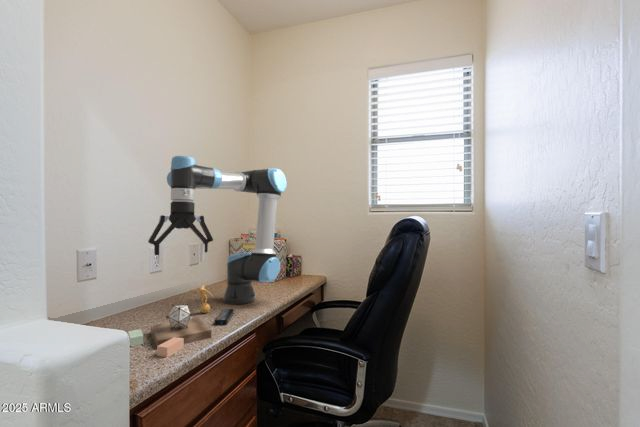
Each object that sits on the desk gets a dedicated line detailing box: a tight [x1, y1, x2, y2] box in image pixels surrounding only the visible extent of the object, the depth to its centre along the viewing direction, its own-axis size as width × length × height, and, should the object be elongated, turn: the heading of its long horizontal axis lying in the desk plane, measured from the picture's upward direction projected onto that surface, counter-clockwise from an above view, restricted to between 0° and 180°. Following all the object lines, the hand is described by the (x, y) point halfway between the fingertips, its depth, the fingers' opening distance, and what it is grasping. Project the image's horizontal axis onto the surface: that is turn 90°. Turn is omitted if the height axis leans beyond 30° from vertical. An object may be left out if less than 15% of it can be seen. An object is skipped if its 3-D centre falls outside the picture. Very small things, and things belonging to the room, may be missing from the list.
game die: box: [165, 302, 194, 330], centre depth 104 cm, size 9×8×10 cm
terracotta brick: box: [156, 337, 185, 358], centre depth 91 cm, size 7×4×3 cm, turn 166°
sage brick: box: [127, 328, 144, 347], centre depth 98 cm, size 7×4×3 cm, turn 37°
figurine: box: [194, 285, 214, 314], centre depth 128 cm, size 8×6×12 cm
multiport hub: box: [214, 308, 235, 326], centre depth 121 cm, size 4×14×2 cm, turn 5°
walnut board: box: [150, 317, 212, 346], centre depth 104 cm, size 16×16×2 cm
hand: (181, 263), depth 104 cm, fingers open, 13 cm apart
